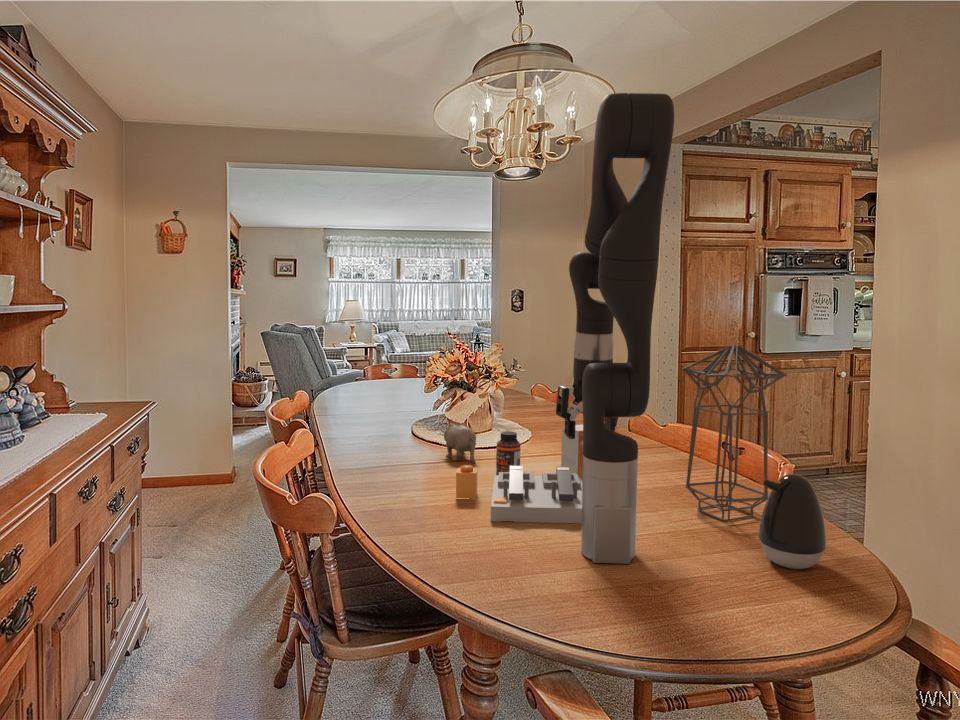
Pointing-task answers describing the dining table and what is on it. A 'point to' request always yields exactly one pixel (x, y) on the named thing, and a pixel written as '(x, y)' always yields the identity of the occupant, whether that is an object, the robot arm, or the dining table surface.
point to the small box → (573, 451)
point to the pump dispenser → (792, 523)
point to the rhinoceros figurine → (460, 441)
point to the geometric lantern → (730, 423)
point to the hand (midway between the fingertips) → (589, 436)
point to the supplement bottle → (507, 452)
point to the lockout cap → (466, 482)
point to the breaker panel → (536, 500)
